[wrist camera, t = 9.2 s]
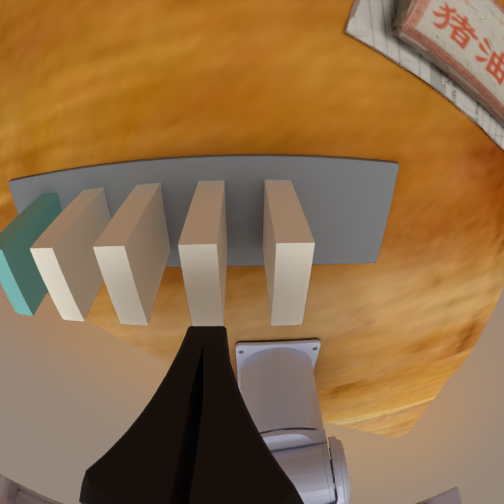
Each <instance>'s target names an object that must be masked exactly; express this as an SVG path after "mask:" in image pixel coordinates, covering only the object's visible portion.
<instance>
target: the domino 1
mask: <svg viewBox="0 0 504 504" xmlns="http://www.w3.org/2000/svg"><path fill="white" fill-rule="evenodd" d="M61 212H62V209H61V205H60V201H59V196H58V193H49V194H41V195H40V196H39V197H38V198H37V199H35V200H34V201H33V202H32V203H31V204H30V205H29V206H28V207H27V208H26V209H24V210H23V211H22V212H21V213H20V214H19V215H18V216H17V217H16V218H15V219H14V220H13V221H12V222H11V223H10V224H9V225H8V226H7V227H6V228H5V229H4V230H3V231H2V232H1V233H0V283H1V284H2V287H3V289H4V291H5V292H6V294H7V296H8V298H9V300H10V302H11V304H12V306H13V307H14V309H15V311H16V313H19V314H24V315H30V316H34V314H35V312H36V310H37V308H38V307H39V305H40V303H41V302H42V300H43V298H44V297H45V295H46V293H47V292H48V289H47V287H46V285H45V283H44V281H43V279H42V276H41V274H40V272H39V270H38V267H37V265H36V263H35V260H34V258H33V256H32V253H31V251H30V248H31V246H32V245H33V244H34V243H35V242H36V240H37V239H38V238H39V237H40V236H41V235H42V233H43V232H44V231H45V230H46V229H47V228H48V227H49V225H50V224H51V223H52V222H53V221H54V220H55V219H56V218H57V217H58V216H59V215H60V213H61Z"/></svg>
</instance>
